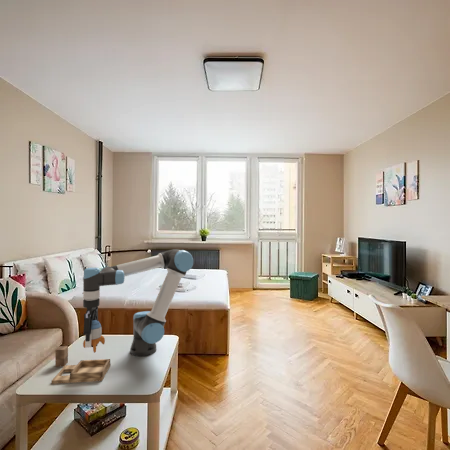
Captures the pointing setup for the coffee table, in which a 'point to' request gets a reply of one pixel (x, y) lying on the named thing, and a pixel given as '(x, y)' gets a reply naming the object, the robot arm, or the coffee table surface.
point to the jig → (83, 371)
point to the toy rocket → (96, 335)
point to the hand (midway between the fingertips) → (91, 343)
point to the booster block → (61, 356)
